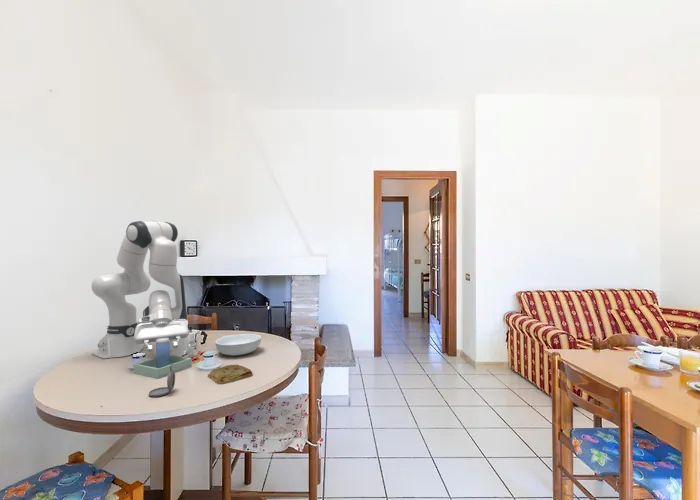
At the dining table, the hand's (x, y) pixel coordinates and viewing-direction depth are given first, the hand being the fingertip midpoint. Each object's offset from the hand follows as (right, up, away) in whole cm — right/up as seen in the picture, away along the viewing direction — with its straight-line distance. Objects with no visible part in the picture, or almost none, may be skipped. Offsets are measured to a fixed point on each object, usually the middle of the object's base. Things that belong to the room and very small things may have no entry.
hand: (163, 348), depth 142 cm
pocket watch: (+13, -9, -24) cm, 29 cm away
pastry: (+30, -9, -8) cm, 33 cm away
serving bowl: (+24, -9, +23) cm, 34 cm away
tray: (0, -9, 0) cm, 9 cm away
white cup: (-4, -9, +21) cm, 24 cm away
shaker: (0, -8, 0) cm, 8 cm away
